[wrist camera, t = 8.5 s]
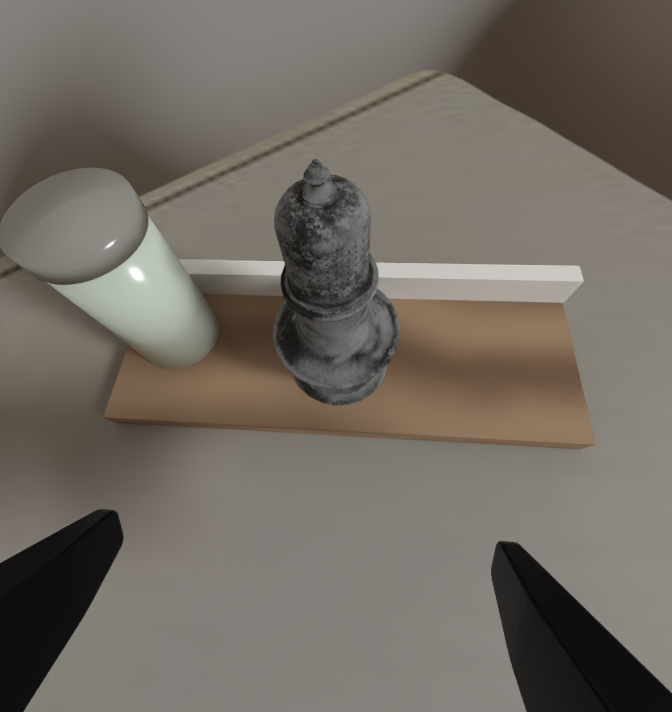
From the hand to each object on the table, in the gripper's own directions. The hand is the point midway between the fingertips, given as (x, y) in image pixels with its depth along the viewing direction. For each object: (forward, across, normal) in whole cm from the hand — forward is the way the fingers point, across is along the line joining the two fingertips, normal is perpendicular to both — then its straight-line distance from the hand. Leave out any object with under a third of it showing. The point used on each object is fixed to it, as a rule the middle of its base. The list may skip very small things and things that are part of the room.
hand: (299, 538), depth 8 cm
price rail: (+16, 0, -2) cm, 16 cm away
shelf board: (+13, 0, 0) cm, 13 cm away
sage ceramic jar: (+13, +10, -1) cm, 16 cm away
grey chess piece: (+12, 0, 0) cm, 12 cm away
